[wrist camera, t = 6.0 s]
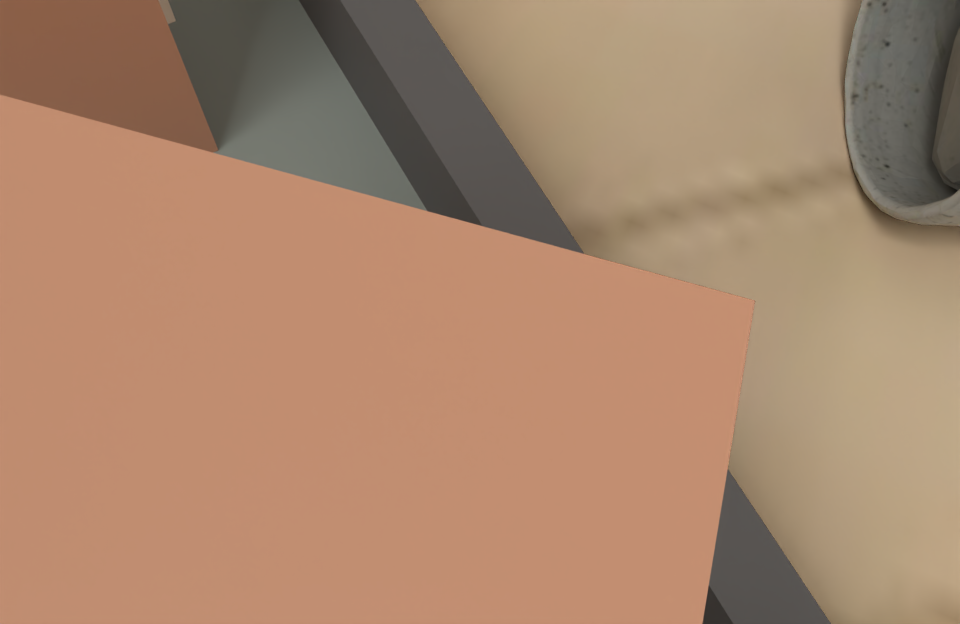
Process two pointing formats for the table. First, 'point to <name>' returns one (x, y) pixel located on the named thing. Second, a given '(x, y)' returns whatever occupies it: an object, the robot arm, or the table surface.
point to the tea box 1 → (102, 65)
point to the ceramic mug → (906, 108)
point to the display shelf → (416, 176)
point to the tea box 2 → (336, 403)
